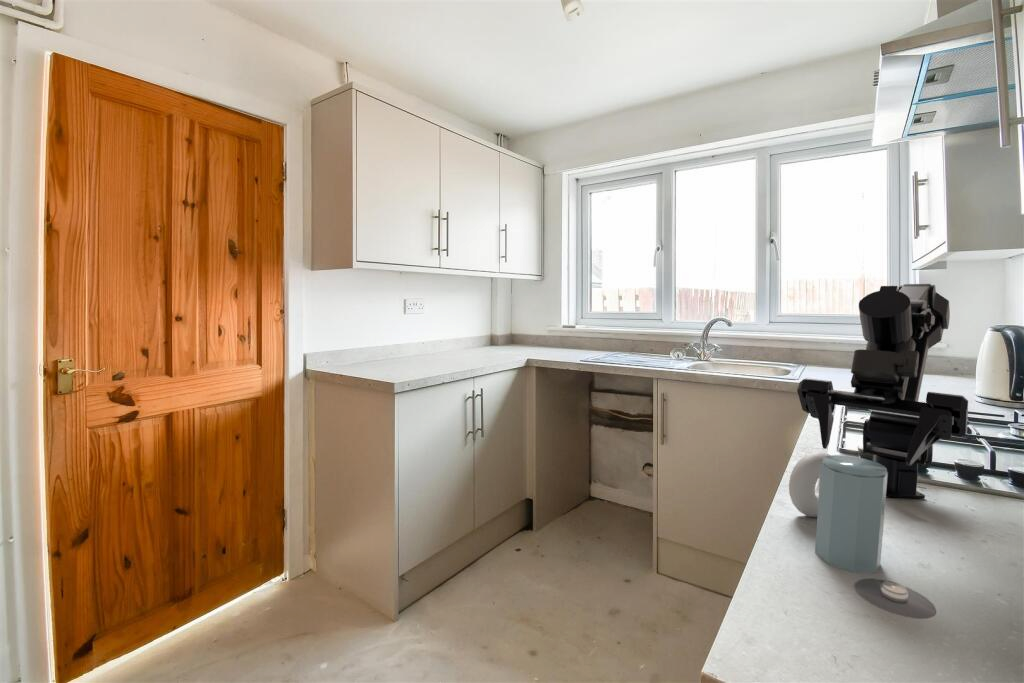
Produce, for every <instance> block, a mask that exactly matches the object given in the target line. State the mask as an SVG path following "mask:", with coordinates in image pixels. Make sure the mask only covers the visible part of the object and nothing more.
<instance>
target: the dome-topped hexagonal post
mask: <svg viewBox="0 0 1024 683" xmlns="http://www.w3.org/2000/svg"><path fill="white" fill-rule="evenodd" d="M829 455H830V456H826V457H824V459H823V463H822V464H821V472H820V487H819V501H818V515H817V517H816V520H817V521H816V533H815V534H816V535H815V546H814V553H815V555H817V556H819V558H821V560H823V561H825V563H826V564H828V565H831V566H834V567H837V568H839V569H843V570H845V571H849V572H850V573H855V574H857V573H858V574H860V573H861V574H863V573H864V574H877V571H879V568H880V566H881V561H882V550H883V549H882V547H883V536H884V526H885V524H884V523H885V511H886V501H887V500H886V499H887V498H886V497H887V496H886V489H887V477H888V472H886V471H887V469H886V467H885V466H883V465H881V464H879V463H876V462H874V461H873V460H870V459H866V458H862V457H857V456H850V455H840V454H835V455H833V454H829Z"/></svg>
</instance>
